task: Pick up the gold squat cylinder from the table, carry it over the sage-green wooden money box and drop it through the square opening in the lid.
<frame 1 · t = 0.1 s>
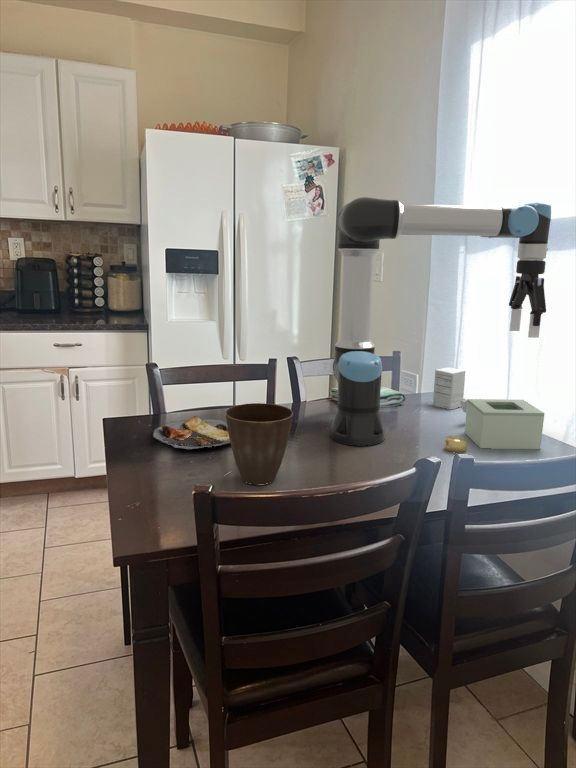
hand: (523, 334, 167), 28 cm above the table, tool pointing down, fingers open, 13 cm apart
towel: (366, 403, 200), on the table
supplement box: (447, 406, 195), on the table
food plate: (199, 439, 158), on the table
money box: (500, 440, 160), on the table
plant pot: (259, 480, 130), on the table
lighter: (468, 424, 175), on the table
gold squat cylinder: (455, 450, 152), on the table
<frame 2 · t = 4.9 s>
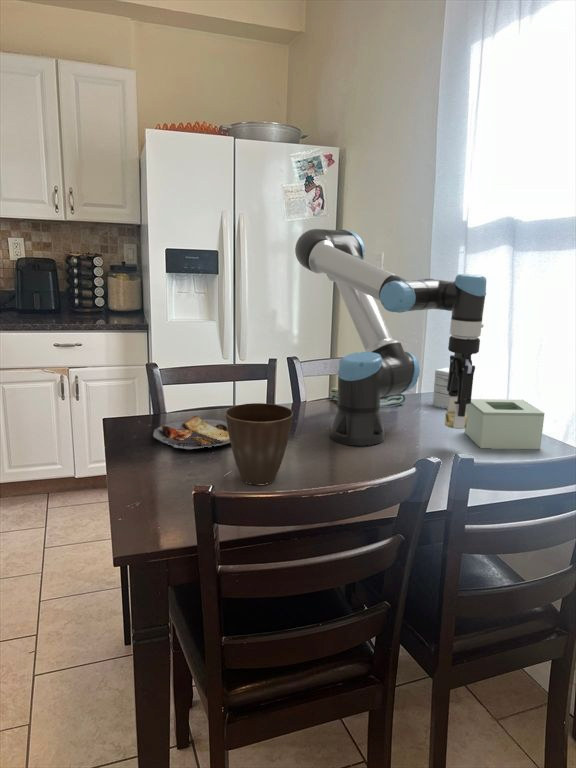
hand: (455, 423, 151), 7 cm above the table, tool pointing down, fingers closed on gold squat cylinder, 5 cm apart
gold squat cylinder: (455, 425, 151), point 7 cm above the table, touching gripper
everything else where it was.
when the fingers open (11 cm above the table, at t = 8.1 s): gold squat cylinder drops 10 cm, resting on money box.
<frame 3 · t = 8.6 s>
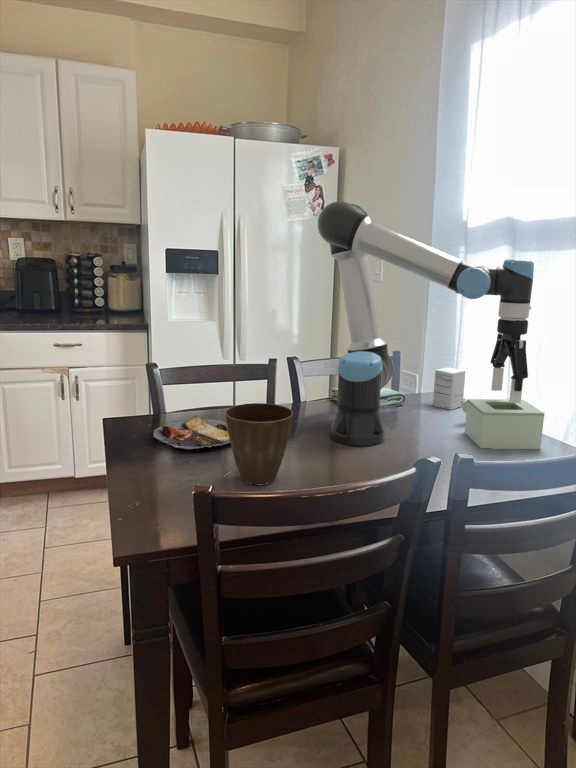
hand: (505, 396, 157), 13 cm above the table, tool pointing down, fingers open, 13 cm apart
gold squat cylinder: (502, 438, 159), point 1 cm above the table, touching money box
everything else where it was.
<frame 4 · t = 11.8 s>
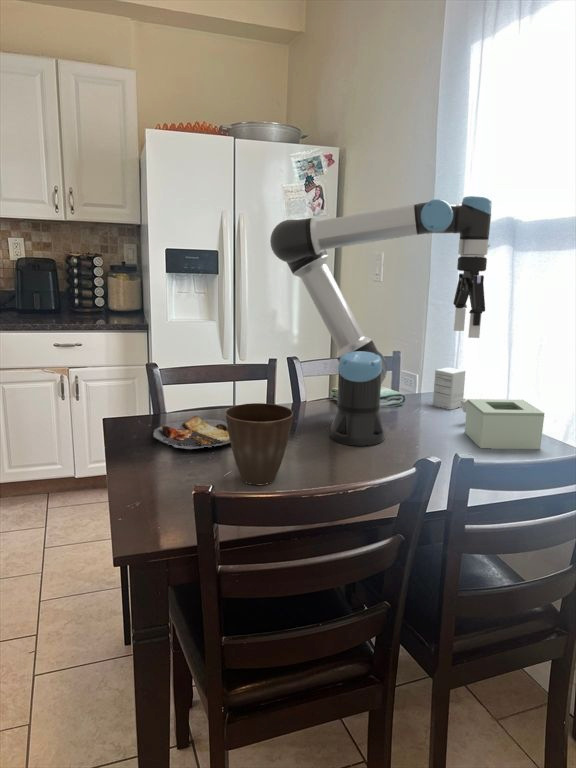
hand: (466, 334, 160), 29 cm above the table, tool pointing down, fingers open, 13 cm apart
nothing on the table moved.
at the end: gold squat cylinder inside the target area on the money box (0.8 cm from its centre), point 0.8 cm above the money box's base; the gripper is holding nothing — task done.
